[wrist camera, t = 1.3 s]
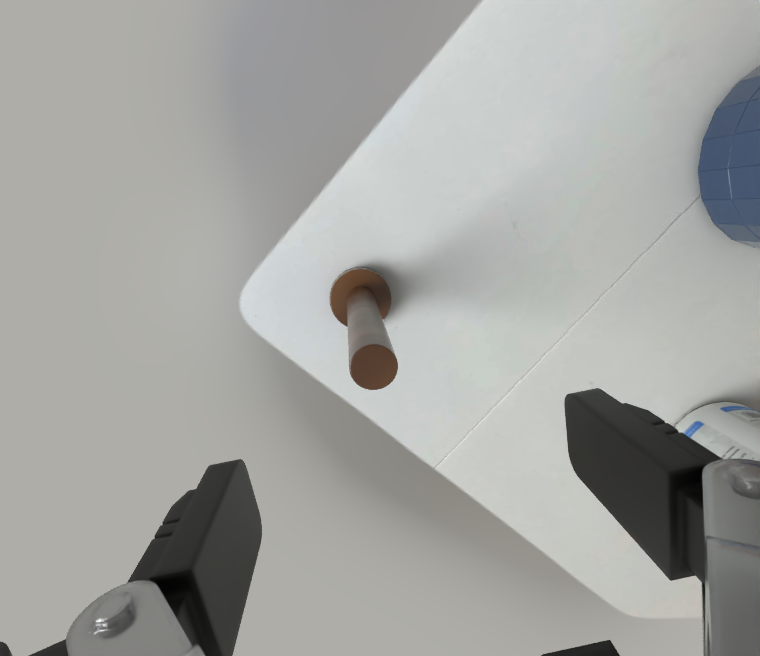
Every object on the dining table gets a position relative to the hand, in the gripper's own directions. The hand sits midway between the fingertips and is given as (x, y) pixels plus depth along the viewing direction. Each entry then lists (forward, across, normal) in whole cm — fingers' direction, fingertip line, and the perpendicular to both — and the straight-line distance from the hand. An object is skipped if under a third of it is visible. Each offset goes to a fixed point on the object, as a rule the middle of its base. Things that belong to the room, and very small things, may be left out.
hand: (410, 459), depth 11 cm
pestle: (+23, 0, 0) cm, 23 cm away
